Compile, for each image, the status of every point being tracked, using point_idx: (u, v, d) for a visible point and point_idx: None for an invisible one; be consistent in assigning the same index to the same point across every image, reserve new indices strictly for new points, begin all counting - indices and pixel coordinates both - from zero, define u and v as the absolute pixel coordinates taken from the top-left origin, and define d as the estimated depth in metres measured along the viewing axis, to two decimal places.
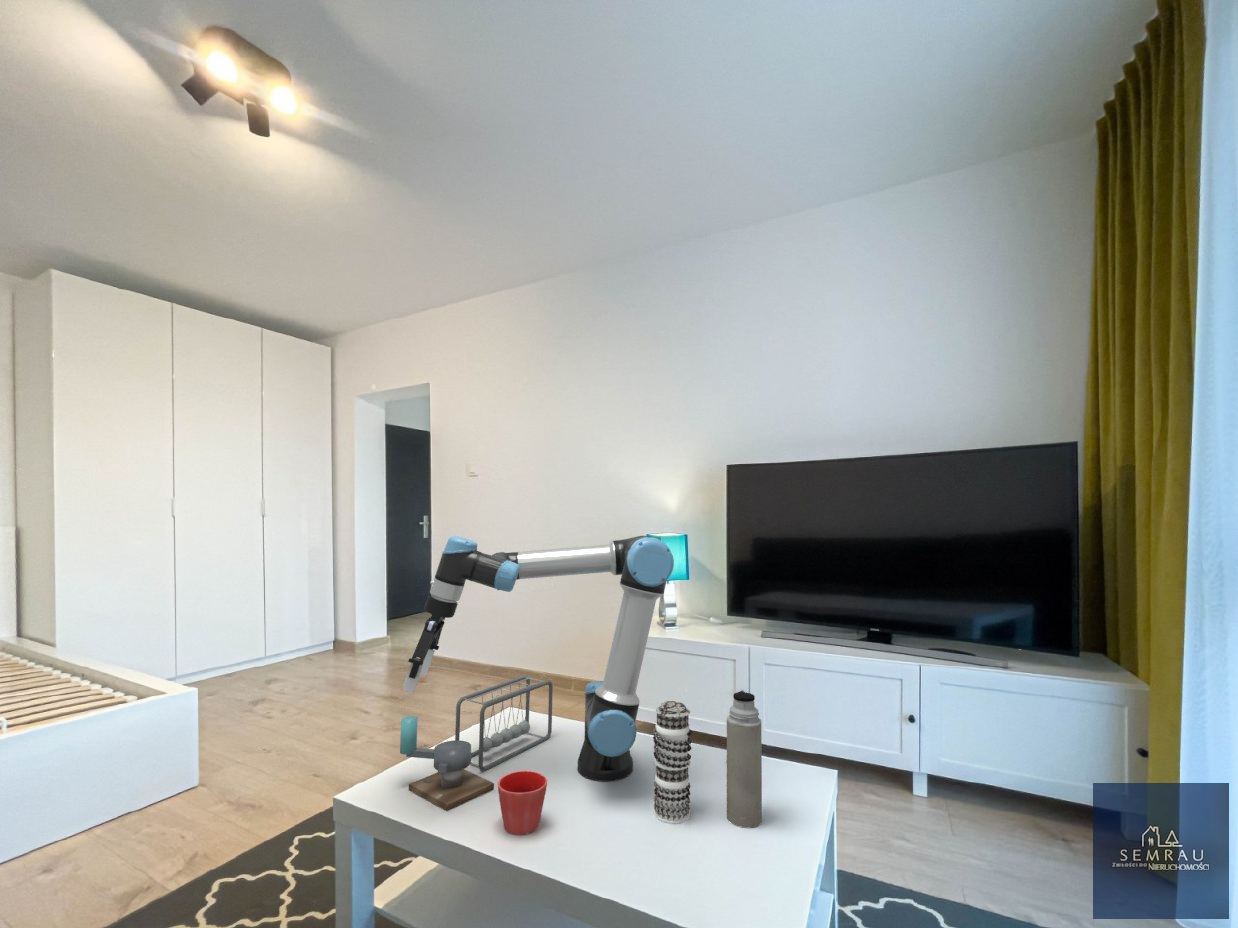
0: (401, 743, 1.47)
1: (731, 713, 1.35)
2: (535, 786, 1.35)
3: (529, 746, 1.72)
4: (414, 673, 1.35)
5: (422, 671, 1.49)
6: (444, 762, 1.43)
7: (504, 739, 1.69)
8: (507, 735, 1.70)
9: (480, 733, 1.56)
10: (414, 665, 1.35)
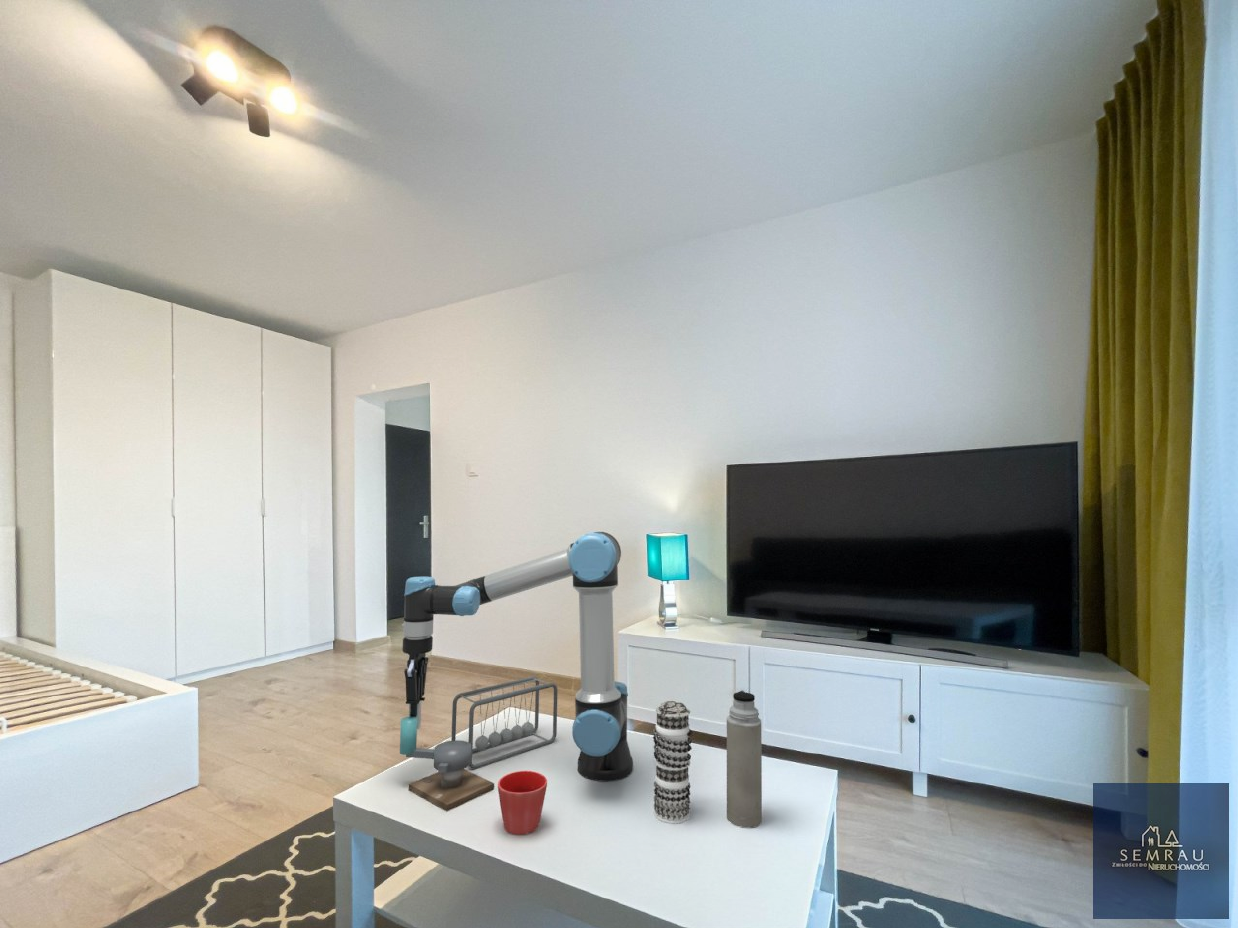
0: (401, 743, 1.47)
1: (731, 713, 1.35)
2: (535, 786, 1.35)
3: (528, 748, 1.70)
4: (414, 712, 1.51)
5: None
6: (444, 762, 1.43)
7: (503, 739, 1.69)
8: (506, 735, 1.69)
9: (469, 731, 1.58)
10: (412, 705, 1.51)
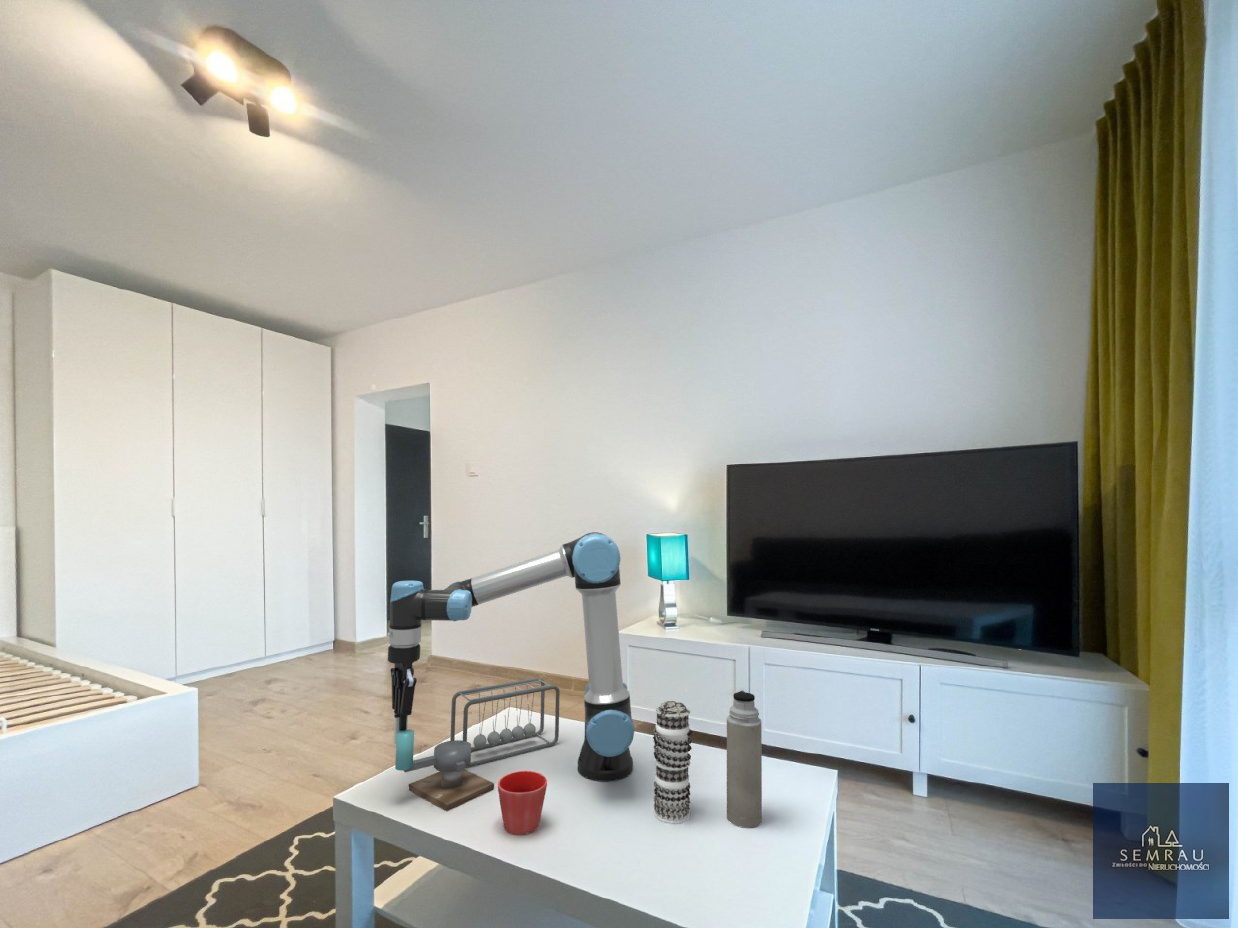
0: (402, 759, 1.38)
1: (731, 713, 1.35)
2: (535, 786, 1.35)
3: (527, 750, 1.69)
4: (404, 724, 1.42)
5: None
6: (459, 761, 1.43)
7: (502, 739, 1.69)
8: (505, 735, 1.69)
9: (463, 729, 1.59)
10: (402, 718, 1.42)
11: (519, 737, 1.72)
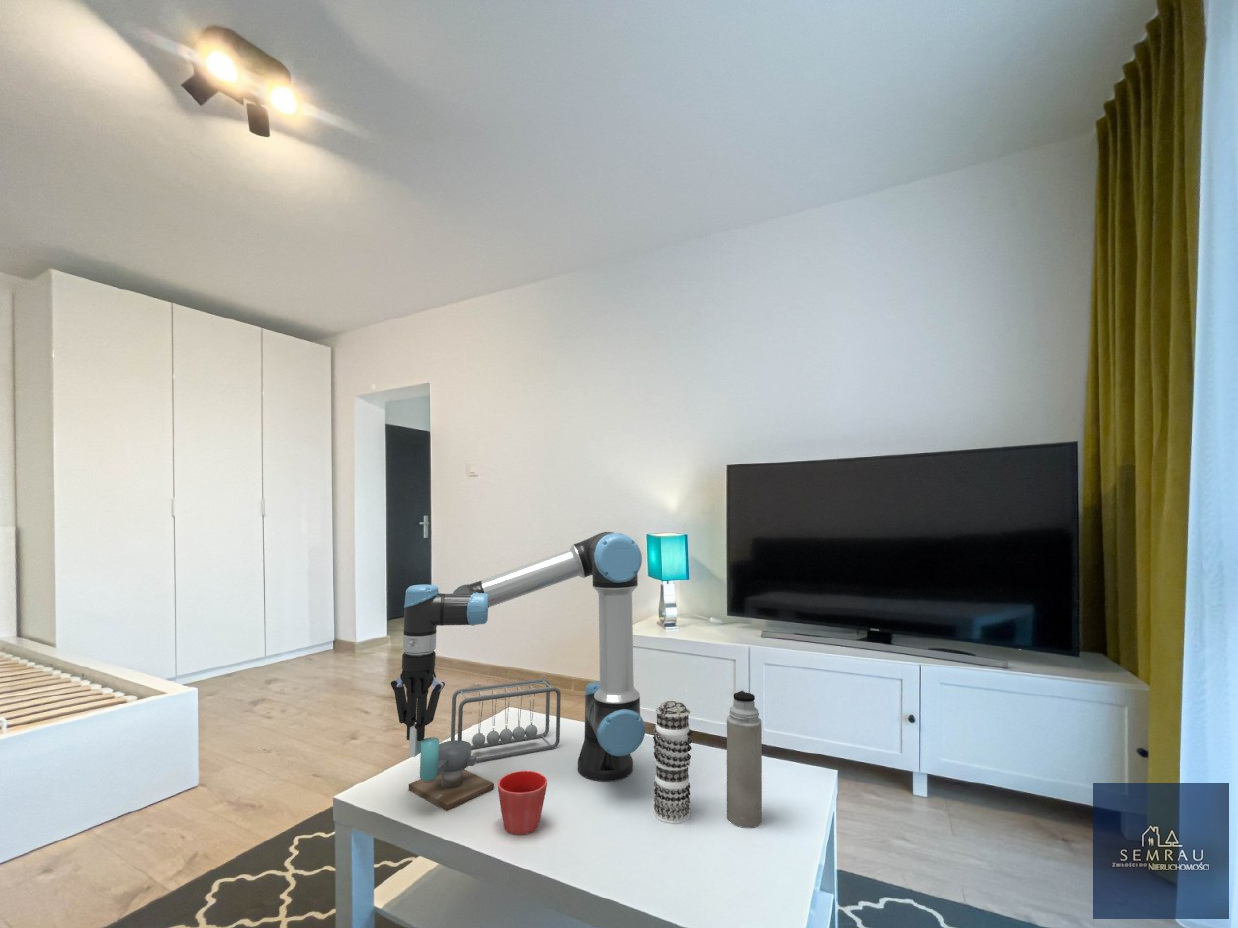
0: (433, 767, 1.34)
1: (731, 713, 1.35)
2: (535, 786, 1.35)
3: (526, 751, 1.68)
4: (423, 734, 1.37)
5: None
6: (469, 756, 1.46)
7: (501, 738, 1.70)
8: (504, 735, 1.69)
9: (458, 727, 1.61)
10: (423, 727, 1.36)
11: (519, 738, 1.71)
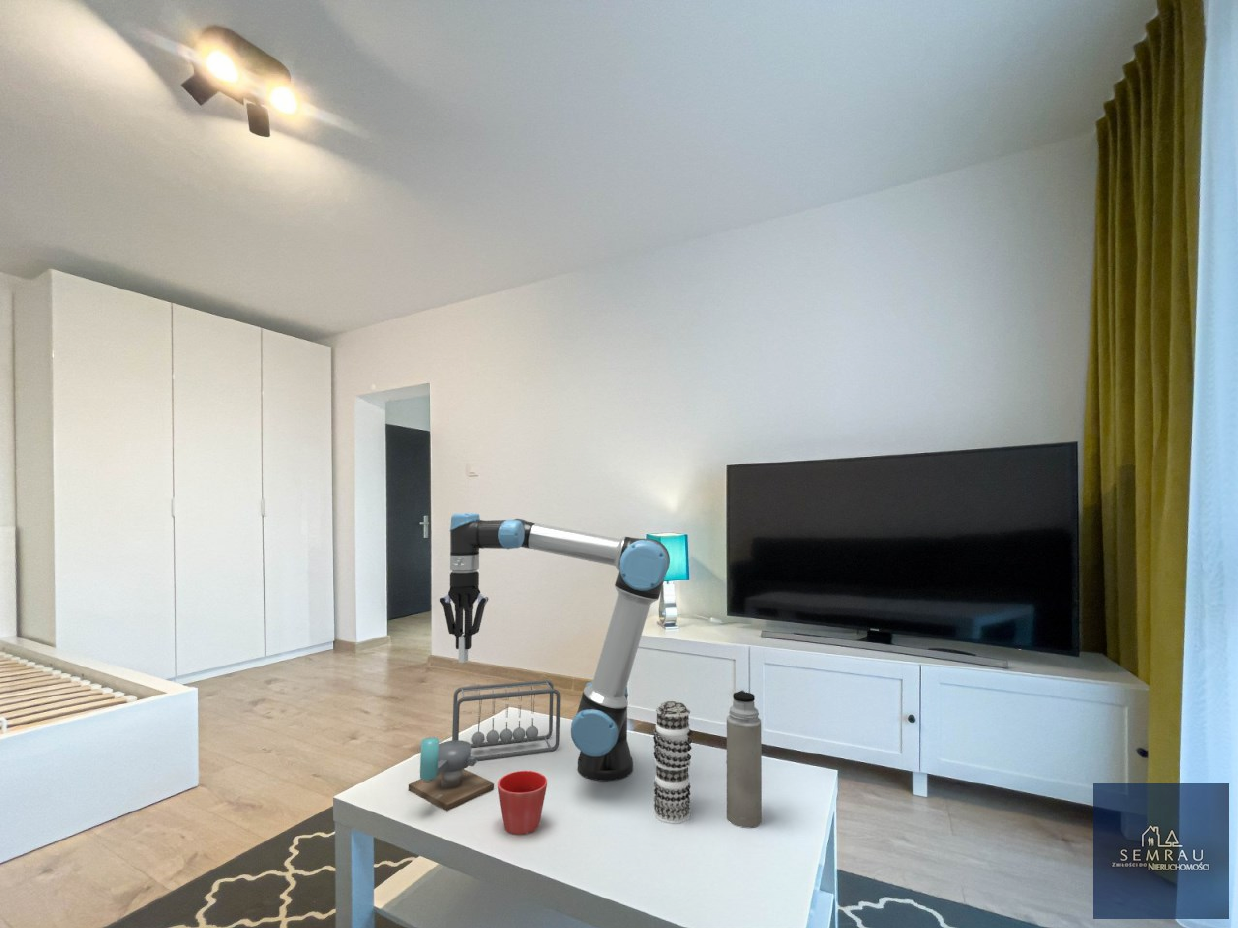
0: (433, 767, 1.34)
1: (731, 713, 1.35)
2: (535, 786, 1.35)
3: (524, 752, 1.67)
4: (471, 643, 1.54)
5: None
6: (469, 756, 1.46)
7: (501, 738, 1.70)
8: (503, 735, 1.69)
9: (455, 725, 1.62)
10: (470, 637, 1.53)
11: (519, 739, 1.71)
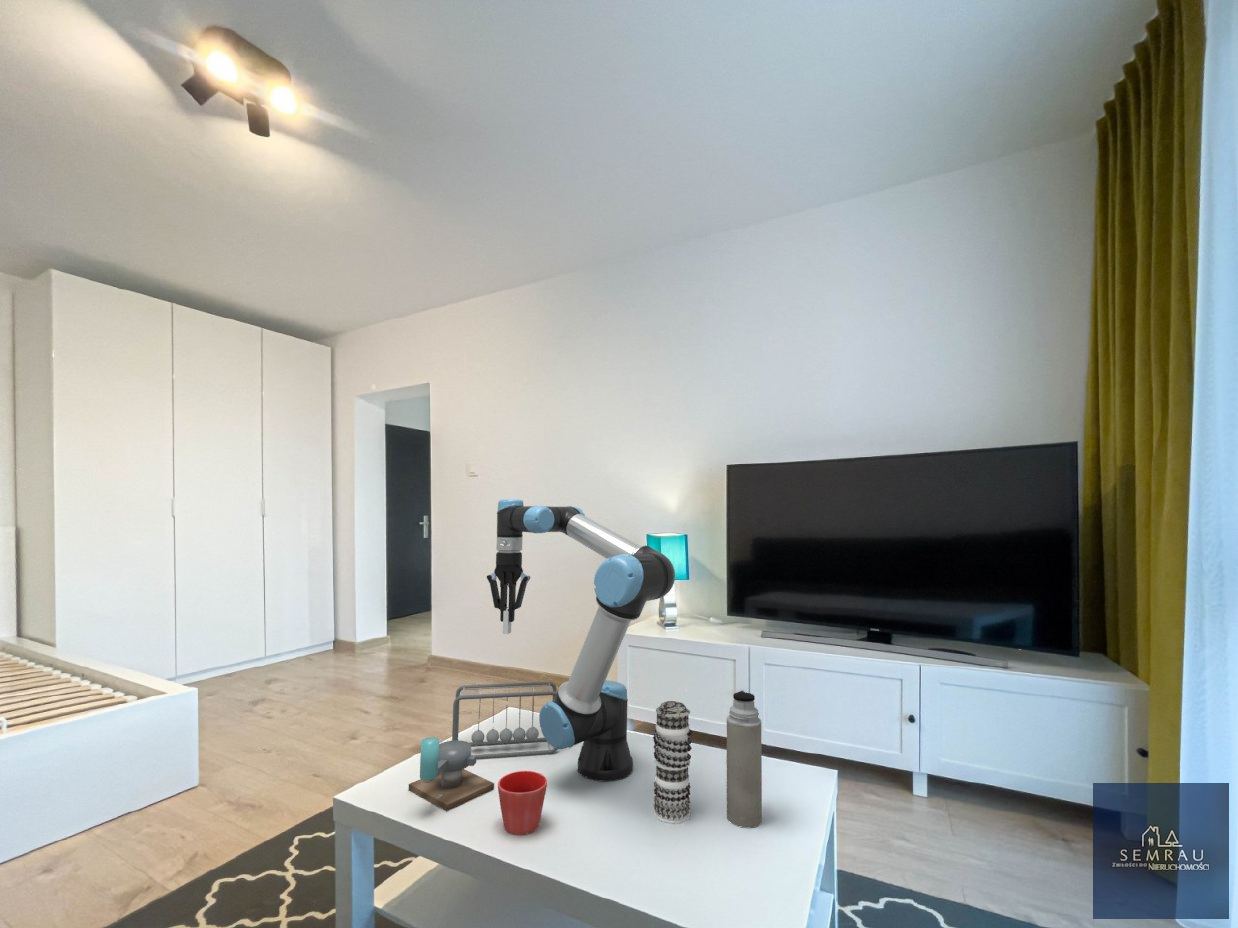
0: (433, 767, 1.34)
1: (731, 713, 1.35)
2: (535, 786, 1.35)
3: (522, 753, 1.67)
4: None
5: None
6: (469, 756, 1.46)
7: (500, 738, 1.70)
8: (503, 735, 1.69)
9: None
10: (513, 611, 1.70)
11: (518, 739, 1.70)
